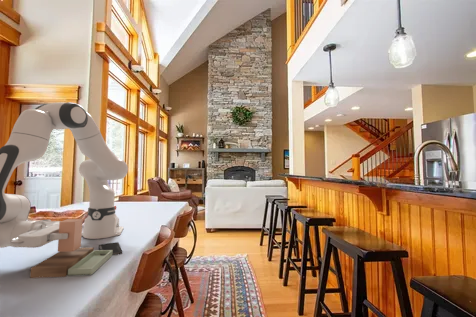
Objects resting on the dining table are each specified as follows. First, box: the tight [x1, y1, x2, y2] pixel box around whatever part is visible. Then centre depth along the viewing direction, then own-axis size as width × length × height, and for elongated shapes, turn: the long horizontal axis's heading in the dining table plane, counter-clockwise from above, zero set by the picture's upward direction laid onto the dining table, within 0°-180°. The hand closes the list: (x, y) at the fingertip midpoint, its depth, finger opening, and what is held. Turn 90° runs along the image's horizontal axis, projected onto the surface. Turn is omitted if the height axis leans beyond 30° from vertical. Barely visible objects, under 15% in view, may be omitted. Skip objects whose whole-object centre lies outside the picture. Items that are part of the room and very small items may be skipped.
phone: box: [98, 241, 123, 256], centre depth 100 cm, size 8×1×15 cm
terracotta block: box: [57, 218, 83, 253], centre depth 85 cm, size 5×5×10 cm
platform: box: [29, 247, 94, 279], centre depth 84 cm, size 19×10×3 cm, turn 8°
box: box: [67, 249, 113, 277], centre depth 85 cm, size 18×7×2 cm, turn 8°
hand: (73, 233), depth 85 cm, fingers closed on terracotta block, 5 cm apart
